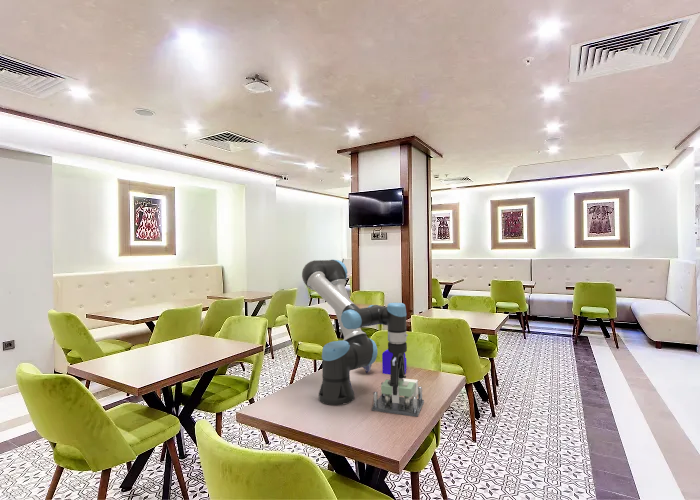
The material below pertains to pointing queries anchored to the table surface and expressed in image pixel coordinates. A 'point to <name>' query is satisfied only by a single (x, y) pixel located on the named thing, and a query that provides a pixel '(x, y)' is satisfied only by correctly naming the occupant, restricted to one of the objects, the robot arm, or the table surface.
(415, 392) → the block
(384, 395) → the chassis
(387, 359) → the bracket
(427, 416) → the table surface
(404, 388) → the board
